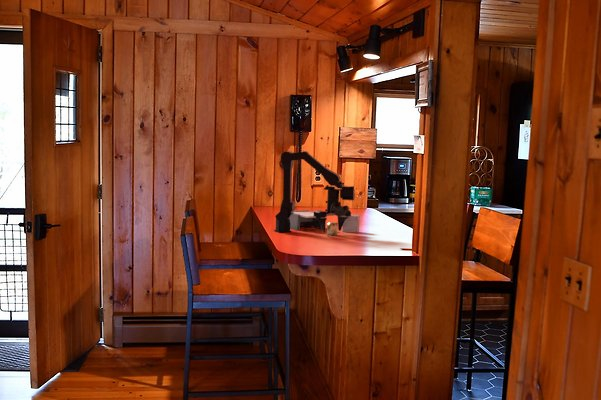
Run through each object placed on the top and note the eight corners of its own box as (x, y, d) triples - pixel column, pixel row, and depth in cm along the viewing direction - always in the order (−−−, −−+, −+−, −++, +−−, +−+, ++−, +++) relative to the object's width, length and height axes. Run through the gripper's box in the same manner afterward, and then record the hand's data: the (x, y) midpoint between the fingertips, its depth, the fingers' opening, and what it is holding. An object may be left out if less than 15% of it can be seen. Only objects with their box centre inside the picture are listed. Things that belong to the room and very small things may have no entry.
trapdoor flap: (306, 225, 330) (306, 215, 329) (288, 221, 344) (288, 211, 344) (327, 224, 336) (327, 215, 336) (308, 220, 351) (309, 210, 350)
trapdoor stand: (297, 230, 334) (297, 214, 333) (282, 226, 347) (282, 211, 346) (323, 228, 342) (323, 213, 342) (307, 224, 355) (308, 210, 354)
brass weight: (330, 236, 320) (331, 223, 320) (324, 234, 324) (325, 222, 324) (338, 235, 323) (339, 223, 322) (333, 233, 327) (333, 221, 326)
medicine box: (359, 232, 337) (359, 215, 336) (357, 233, 333) (358, 216, 332) (343, 230, 339) (344, 214, 338) (342, 232, 335) (342, 215, 334)
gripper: (326, 201, 310) (325, 234, 312) (358, 200, 320) (357, 232, 322) (313, 199, 320) (312, 231, 321) (345, 198, 329) (343, 229, 331)
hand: (331, 231), depth 323 cm, fingers open, 9 cm apart
